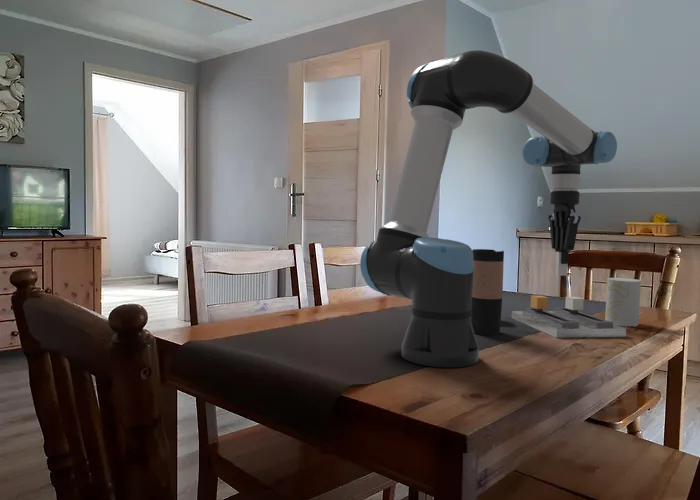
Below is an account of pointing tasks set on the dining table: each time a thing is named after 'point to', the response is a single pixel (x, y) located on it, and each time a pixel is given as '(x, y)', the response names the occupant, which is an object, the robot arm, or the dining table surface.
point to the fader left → (539, 303)
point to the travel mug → (487, 291)
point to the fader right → (574, 304)
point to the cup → (623, 301)
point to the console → (568, 323)
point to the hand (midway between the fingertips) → (561, 275)
